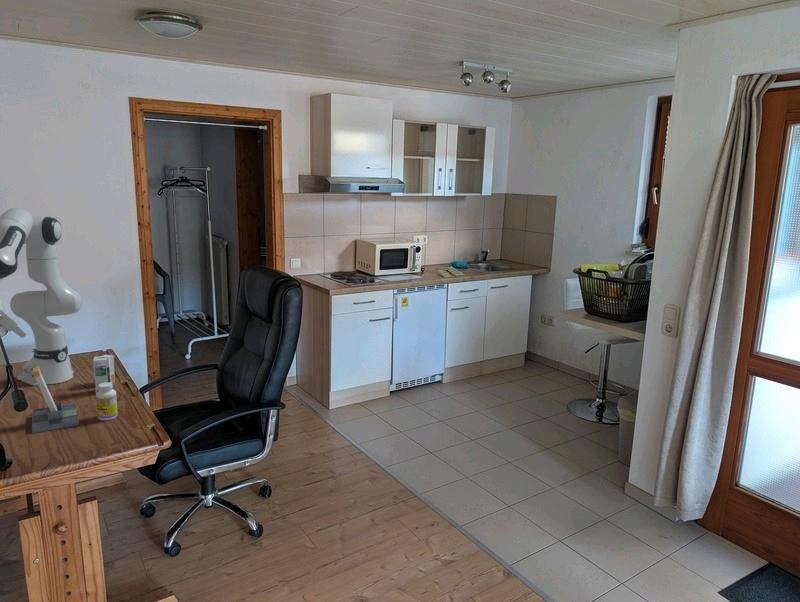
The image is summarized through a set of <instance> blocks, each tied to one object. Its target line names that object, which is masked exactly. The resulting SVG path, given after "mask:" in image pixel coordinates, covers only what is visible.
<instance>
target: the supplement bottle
mask: <svg viewBox="0 0 800 602" xmlns="http://www.w3.org/2000/svg"><path fill="white" fill-rule="evenodd" d="M98 389H99V391H98V392H97V393H96V392H95V400H96V415H97V419H98V420H100V421H111V420H113V419H116V418H117V417H118V400H117V399H118V398H117V391H116V390H115V389H114V383H110V382H106V383H101V384H99V385H98Z"/></svg>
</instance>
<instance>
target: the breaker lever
mask: <svg viewBox="0 0 800 602" xmlns="http://www.w3.org/2000/svg"><path fill="white" fill-rule="evenodd" d="M32 373H33V375H34V377H35V379H36V381H37V383H38V386H39V389H40V391H41V394H42V396H43V398H44V400H45V403H46V405H47V407H49V409H50V411H51V412H53V411H57V407H56V405H55V403H54V402H55V401H54V399H53V397H52V395H51V392H50V389H49V387H48V384H46V383H45V381H44V379H43V377H42V374H41V371H40V369H39V367H36V368H33V372H32Z"/></svg>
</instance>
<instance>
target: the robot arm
mask: <svg viewBox="0 0 800 602" xmlns="http://www.w3.org/2000/svg"><path fill="white" fill-rule="evenodd" d="M62 230H63V229H62V225H61V223H60V221H59V220H57V218H55V217H51V216H39V215H32V214H31V213H30V212H29V211H28V210H27V209H24V208H22V207H11V208H8V210H6V211H5V212H3V213H2V214H1V215H0V281H2V280H3V279H5V278H7V277H9V276H11V275H12V274H14V273H15V272H16V271H17V269H18V265H19V264H18V260H19V259H18V258H19V257H18V256H19V254H20V252H21V250H22V247H23V245H25V256H26V257H25V258H26V267H27V268H26V269H27V275H28V277H29V278H30V280H31V281H33V282H36V283H39V284H42V285H43V286H44V287H45V288H46V289H45V290H27V291H21V292H19V293H18V292H17V293H15V294H13V295H12V297H11V299H10V302H9V308H10V310H11V312H12V313H13V314H14V316H16V317H18V318H20V319H21V320H23V321H24V322H25V323H27V325H28V326H29V327H30V329H31V331H32V333H33V334H32V335H33V337H34V344H35V345H34V346H35V348H33V349H32V350H31V353H33V356H32V358H30V359H29V360H28V361H27V362H25V363H24V364H23V365H22V374H19V375H17V376H16V380H18V381H20V380H21V382H23V383H25V384H28V385H31V386H36V387H37V386H39V385H38V383H37V381H36V379H35V377H34V375H33V373H32V372H33V368H36V367H39V369H40V371H41V374H42V377H43V379H44V381H45V383H46V385H54V384H60V383H65V382H67V381H70V380H71V379H73V378H74V375H73V374H75V372H74V370H73V369H72V364H71V360H70V356H69V355H68V354H69V352H68V351H69V350H68V346H67V342H66V332H65V328H64V327H63V326H61V325H59V324H57V323H54V322H51V321H50V320H49V319H48V318H47V317H57V316H58V317H59V316H68V315H72V314H77V313H78V312H79V311H80V310H81V308H82V305H83V300H82V296H81V295H80V293H78V291H76V290H74V289H72V288H71V287H70V286H69V285H68V284H67V283H66V282H65V281H64V279H63V277H62V275H61V272H60V267H59V257H58V256H59V255H58V250H57V245H56V243H58V242H59V240H60V239H61V237H62V234H63V233H62V232H63V231H62ZM3 302H4V299H2V298H1V297H0V326H1V327H3V329H5V330H6V331H8V332H13V333H14V334H15V335H17V336H18V337H20V339H21V338H22V339H24V338H25V337H26V336H27V333H26V332H25V331H24V330H22V329H21V328H20V327H19V323H18V322H17V320H16V319H13V317H11V316H10V315H9V314H8V313H7V312H6V311H5V310H4V308H5V306H4V305H3V304H2V303H3Z"/></svg>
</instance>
